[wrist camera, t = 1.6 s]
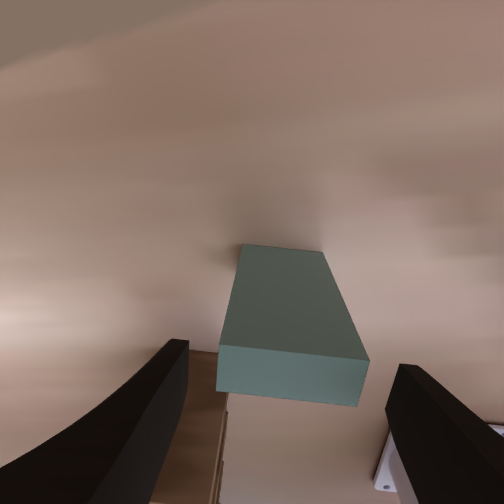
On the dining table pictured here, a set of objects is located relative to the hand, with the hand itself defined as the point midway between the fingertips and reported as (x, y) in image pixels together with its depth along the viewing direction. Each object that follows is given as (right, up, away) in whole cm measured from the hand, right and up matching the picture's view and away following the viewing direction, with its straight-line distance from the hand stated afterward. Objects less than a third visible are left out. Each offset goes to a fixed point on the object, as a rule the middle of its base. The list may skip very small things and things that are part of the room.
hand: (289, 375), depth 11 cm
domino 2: (+1, +4, +9) cm, 10 cm away
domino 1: (-5, -4, +12) cm, 14 cm away
